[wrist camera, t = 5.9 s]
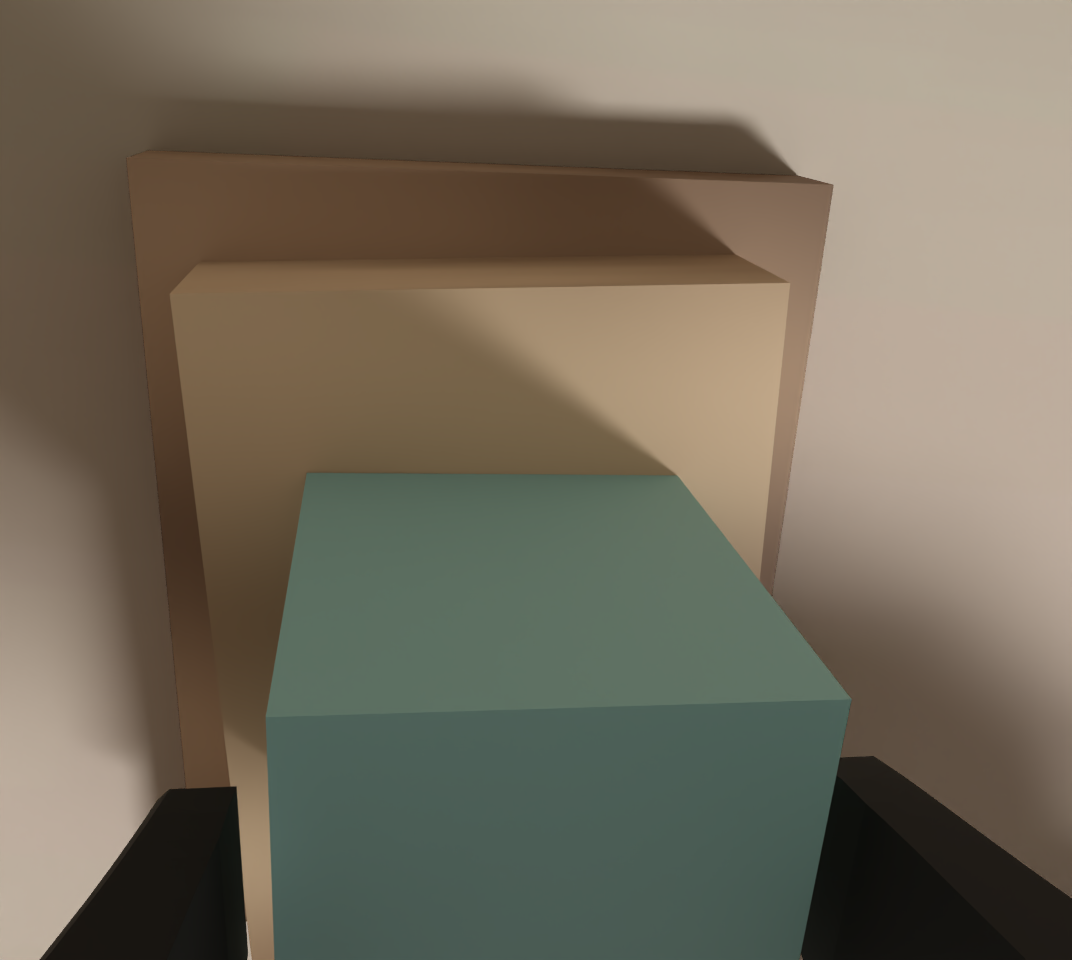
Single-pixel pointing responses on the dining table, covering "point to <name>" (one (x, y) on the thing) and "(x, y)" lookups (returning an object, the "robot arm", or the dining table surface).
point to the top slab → (450, 417)
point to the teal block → (539, 728)
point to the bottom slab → (427, 233)
